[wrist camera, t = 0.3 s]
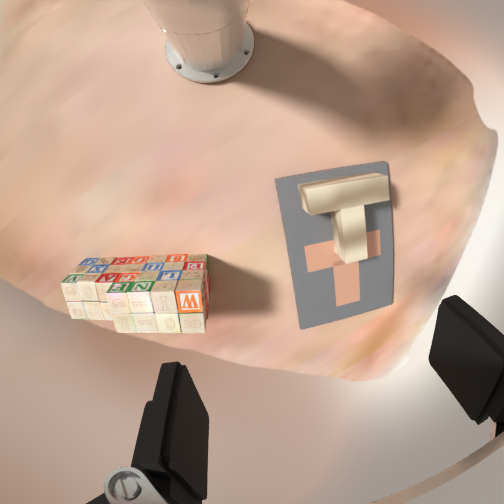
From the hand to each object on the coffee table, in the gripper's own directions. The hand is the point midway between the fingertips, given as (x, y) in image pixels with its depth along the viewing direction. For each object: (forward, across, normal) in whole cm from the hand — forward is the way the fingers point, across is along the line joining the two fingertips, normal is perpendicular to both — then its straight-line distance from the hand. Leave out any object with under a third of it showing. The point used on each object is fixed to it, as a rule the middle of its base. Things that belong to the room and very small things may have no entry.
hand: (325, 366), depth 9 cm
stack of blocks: (+35, +19, +9) cm, 41 cm away
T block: (+34, -13, +5) cm, 37 cm away
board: (+35, -13, +11) cm, 39 cm away
